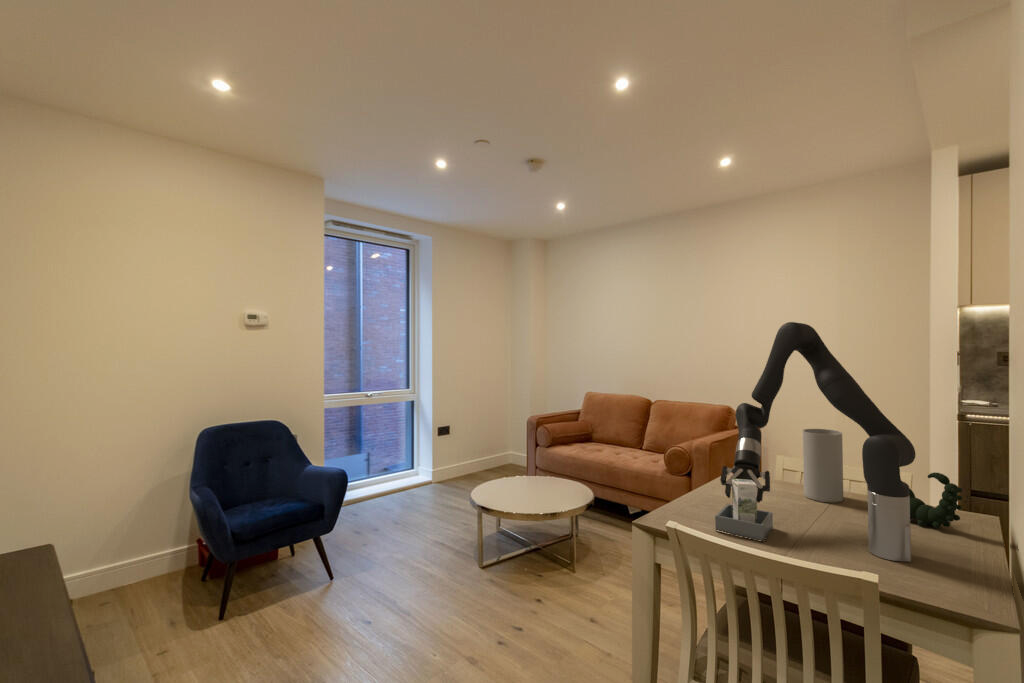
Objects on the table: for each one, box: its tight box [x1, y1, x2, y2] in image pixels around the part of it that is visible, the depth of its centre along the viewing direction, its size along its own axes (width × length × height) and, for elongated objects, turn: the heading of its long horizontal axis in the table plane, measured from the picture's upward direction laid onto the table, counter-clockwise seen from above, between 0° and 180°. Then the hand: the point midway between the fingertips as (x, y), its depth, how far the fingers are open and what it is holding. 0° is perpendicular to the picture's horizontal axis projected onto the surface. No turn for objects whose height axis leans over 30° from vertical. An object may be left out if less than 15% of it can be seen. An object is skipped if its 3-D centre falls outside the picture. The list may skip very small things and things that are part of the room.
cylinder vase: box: [802, 428, 844, 504], centre depth 180 cm, size 12×12×25 cm
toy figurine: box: [910, 472, 963, 529], centre depth 156 cm, size 9×19×25 cm
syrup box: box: [731, 479, 758, 523], centre depth 151 cm, size 6×6×14 cm
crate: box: [714, 503, 774, 542], centre depth 151 cm, size 14×14×5 cm
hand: (743, 499), depth 150 cm, fingers open, 8 cm apart
